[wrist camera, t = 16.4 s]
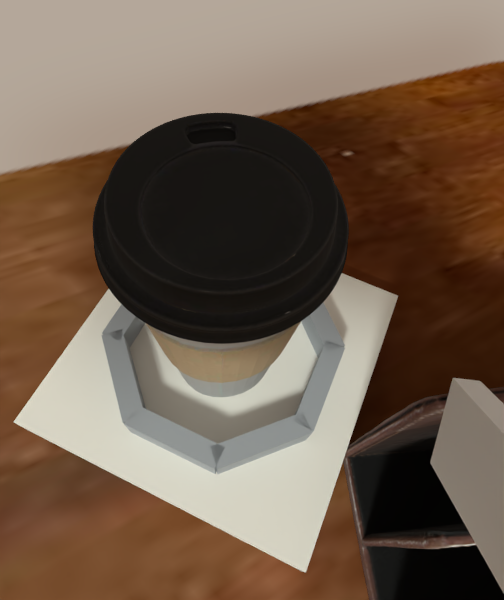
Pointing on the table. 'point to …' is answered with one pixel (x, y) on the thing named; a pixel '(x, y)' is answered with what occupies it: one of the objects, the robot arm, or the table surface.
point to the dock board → (221, 418)
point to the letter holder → (412, 513)
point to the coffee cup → (220, 242)
